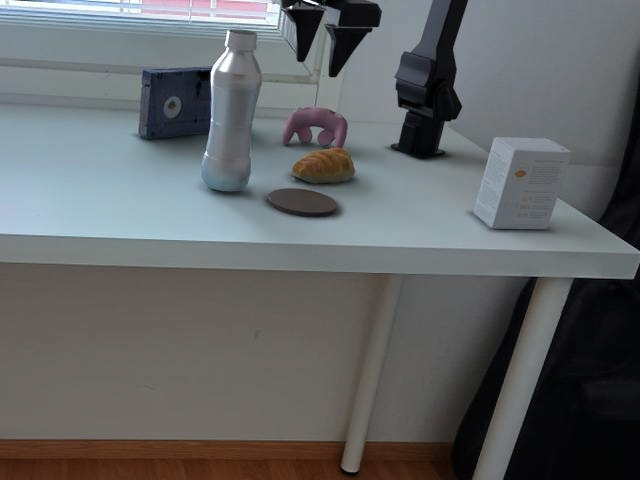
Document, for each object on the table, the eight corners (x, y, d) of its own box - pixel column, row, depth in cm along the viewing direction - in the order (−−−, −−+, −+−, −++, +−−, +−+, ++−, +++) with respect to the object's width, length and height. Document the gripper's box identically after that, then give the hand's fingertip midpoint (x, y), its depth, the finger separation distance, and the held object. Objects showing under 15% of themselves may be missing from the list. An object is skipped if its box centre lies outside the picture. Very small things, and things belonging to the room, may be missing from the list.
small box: (526, 214, 115) (550, 138, 110) (547, 230, 111) (574, 151, 105) (471, 213, 114) (493, 135, 109) (490, 229, 109) (514, 148, 104)
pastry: (313, 189, 117) (318, 162, 115) (278, 175, 122) (282, 148, 120) (357, 179, 123) (362, 153, 121) (322, 166, 127) (326, 140, 125)
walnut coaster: (302, 188, 117) (303, 184, 117) (350, 210, 111) (351, 206, 111) (253, 197, 112) (254, 193, 112) (301, 221, 106) (302, 216, 106)
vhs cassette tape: (229, 125, 142) (237, 63, 137) (240, 130, 140) (248, 68, 135) (135, 134, 133) (140, 68, 128) (145, 139, 131) (150, 73, 126)
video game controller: (342, 159, 136) (352, 115, 135) (341, 153, 132) (351, 108, 131) (282, 148, 138) (291, 105, 138) (278, 142, 134) (289, 98, 133)
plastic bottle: (234, 200, 111) (256, 39, 100) (189, 188, 113) (206, 30, 103) (256, 188, 115) (278, 33, 105) (212, 176, 118) (230, 25, 108)
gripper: (250, -64, 116) (236, 54, 124) (316, -47, 102) (296, 86, 110) (321, -60, 120) (303, 54, 128) (395, -43, 105) (370, 85, 113)
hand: (315, 69), depth 120 cm, fingers open, 9 cm apart
